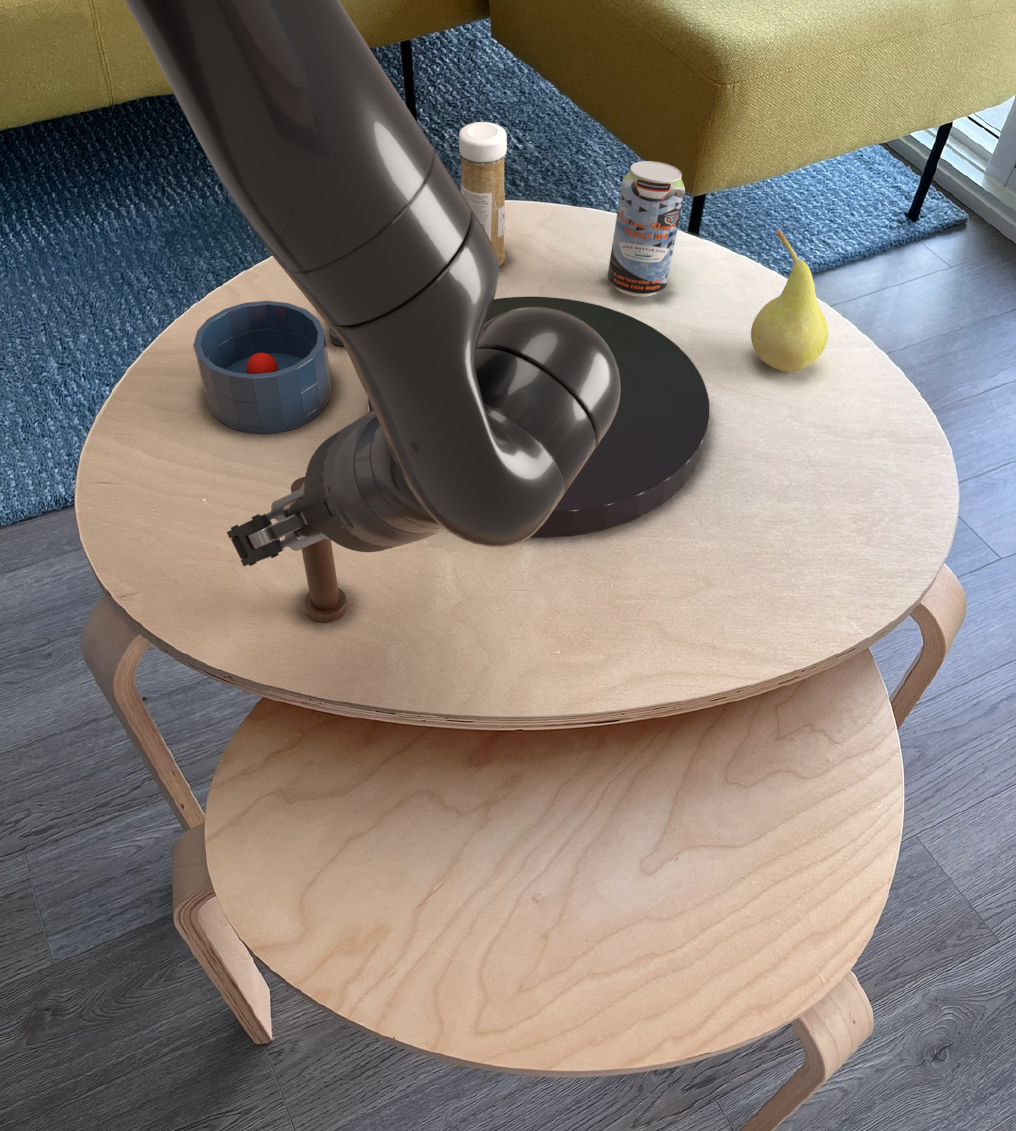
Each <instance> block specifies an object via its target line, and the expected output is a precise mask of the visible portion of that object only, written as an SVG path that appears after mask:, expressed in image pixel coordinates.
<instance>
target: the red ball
mask: <svg viewBox="0 0 1016 1131" xmlns="http://www.w3.org/2000/svg"><path fill="white" fill-rule="evenodd" d="M246 369H247V374H261V373H271V372H276V371H278V365H277V363H276V361H275V359H274V358H273V357H272V356H270V355H269V354H266V353H256V354H254V355H253V356H251V357H250V359H249V360H248V362H247V367H246Z"/></svg>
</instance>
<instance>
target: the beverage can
mask: <svg viewBox="0 0 1016 1131" xmlns="http://www.w3.org/2000/svg"><path fill="white" fill-rule="evenodd" d="M682 176H683V174H682V171H681V170H680V169H678V168H677V167H676V166H673V165H671V164H668V163H665V162H659V161H653V160H652V161H651V160H643V161H637V162H635V163H633V164H631V165H630V168H629V171H628V172H627V173H626V175H624V176H623V179H622V181H621V186H620V193H619V200H618V205H617V212H616V218H615V225H614V232H613V239H612V245H611V251H610V257H609V262H608V271H607V280H608V281H609V282H610V284H611V285H613V286H614V288H615V289H616V290H617V291H619V292H620V293H622V294H624V295H628V296H631V297H640V298H642V297H643V298H645V297H650V296H654V295H656V294H657V293H659V292H661V291H663V290H664V289H665V288H666V287H667V284H668V279H669V274H670V269H671V264H672V259H673V254H674V248H675V243H676V238H677V233H678V228H679V224H680V218H681V213H682V208H683V202H684V197H685V191H686V187H685V184H684V182H683V180H682Z"/></svg>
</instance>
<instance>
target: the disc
mask: <svg viewBox="0 0 1016 1131" xmlns="http://www.w3.org/2000/svg"><path fill="white" fill-rule="evenodd" d="M525 307H544V308H551V309H556V310H559V311H563V312H565V313H568V314H570V315H572V316H575V317H577V318H578V319H580V320H582V321H583V322H585V323H586V324H587V325H589V326H590V327H592V328H593V329H594V330H595V331H596V332H597V333H598V334H599V335H600V336H601V337H602V338H603V339H604V341H605V342H606V344H607V345H608V347H609V348H610V350H611V352H612V354H613V356H614V358H615V361H616V364H617V367H618V370H619V375H620V385H621V392H620V401H619V405H618V409H617V412H616V415H615V417H614V419H613V421H612V424H611V426H610V427H609V429H608V430H607V432H606V434H605V435H604V437H603V438H602V440H601V441H600V443H599V444H598V445H597V447H596V448H595V450H594V451H593V453H592V454H591V456H590V457H589V459H588V460H587V461H586V463H585V464H584V466H583V467H582V469H581V470H580V472H579V473H578V475H577V476H576V477H575V479H574V480H573V482H572V483H571V485H570V486H569V488H568V489H567V491H566V492H565V493H564V495H563V497H562V498H561V500H560V501H559V503H558V504H557V506H556V507H555V509H554V510H553V512H552V513H551V514H550V516H549V517H548V519H547V520H546V521H545V523H544V524H543V525H542V526H541V527H540V528H539V529H538V530H537V531H536V532H535V533H534V534H533V535H532V536H533V537H548V536H549V537H550V536H551V537H552V536H573V535H579V534H585V533H590V532H596V531H602V530H606V529H609V528H613V527H615V526H618V525H621V524H624V523H627V522H631V521H633V520H636V519H638V518H640V517H642V516H643V515H646V514H648V513H649V512H651V511H653V510H655V509H657V508H658V507H660V506H662V505H663V504H664V503H666V501H668V500H669V499H670V498H671V497H673V495H675V494H676V493H677V492H678V491H680V490H681V489H682V488H683V487H684V486H685V484H686V483H687V481H688V480H689V478H690V477H691V475H692V474H693V473H694V471H695V470H696V468H697V467H698V463H699V460H700V458H701V455H702V452H703V449H704V446H705V440H706V436H707V431H708V425H709V424H710V396H709V393H708V391H707V387H706V384H705V380H704V378H703V376H702V375H701V373H700V372H699V370H698V367H696V365H695V363H694V361H693V360H692V359H691V358H690V357H689V355H687V354H686V353H685V352H684V351H683V350H682V349H681V348H680V346H678V344H676V342H674V341H673V340H672V339H670V338H669V337H667V336H666V335H665V334H663V333H661V332H660V331H659V330H657V328H655V327H654V326H651V325H650V324H647V323H645V322H643V321H642V320H639V319H637V318H635V317H633V316H631V315H629V314H627V313H624V312H621V311H618V310H616V309H612V308H609V307H607V306H603V305H600V304H597V303H591V302H585V301H582V300H577V299H572V298H562V297H552V296H551V297H550V296H540V295H538V296H537V295H536V296H534V295H533V296H506V297H500V298H494V299H493V302H492V304H491V307H490V310H489V312H488V314H487V317H486V319H485V322H484V324H486V323H487V322H488V321H490V320H491V319H493V318H494V317H496V316H498V315H500V314H502V313H505V312H507V311H510V310H514V309H519V308H525ZM367 410H368V413H370V412H372V411H374V410H373V407H372V405H371V403H370V400H369V398H368V397H367ZM532 536H531V537H532Z"/></svg>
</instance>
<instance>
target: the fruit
mask: <svg viewBox="0 0 1016 1131" xmlns="http://www.w3.org/2000/svg"><path fill="white" fill-rule="evenodd" d="M774 235H775V236H776V237H777V238H778V240H779V241H780V242H781V243H782V245H783V246H784V247H785V248H786V249H787V251H788V254H789V255H790V257H791V260H792V267H791V270H790V273H789V276H788V278H787V280H786V283H785V285H784V287H783V289H782V291H781V293H780V295H778V296H777V297H775V298H773V299H771V300H770V301H768V302H767V303H766V304H765V305H763V307H762V308H761V309H760V310H759V312H757V315H756V316H755V317H754V320H753V322H752V325H751V329H750V340H751V344H752V348H753V350H754V352H755V354H756V355H757V357H758V358H759V359H760V360H761V361H763V363H764V364H766V365H768V366H770V367H771V368H774V369H776V370H777V371H779V372H780V371H781V372H784V373H792V372H793V373H794V372H798V371H801V370H803V369H806V368H807V367H809V366H810V365H812V364H813V363H814V362H816V360H817V359H818V358H819V357H820V356H821V355H822V353H823V352H824V350H825V348H826V345H827V343H828V340H829V339H828V338H829V326H828V322H827V320H826V316H825V315H824V313H823V312H822V310H821V307H820V306H819V302H818V299H817V294H816V285H815V282H814V278H813V277H814V276H813V274H812V271H811V269H810V267H809V265H808V264H807V263H806V261H804V260H803V259H801V258H799V257H798V255H797V254H796V252H795V251H794V249H793V247H792V245H791V244H790V243H789V241H788V239H787V237H786V236H785V235H784V233H783V231H782V230H781V229H777V230H776V231H775V233H774Z"/></svg>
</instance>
